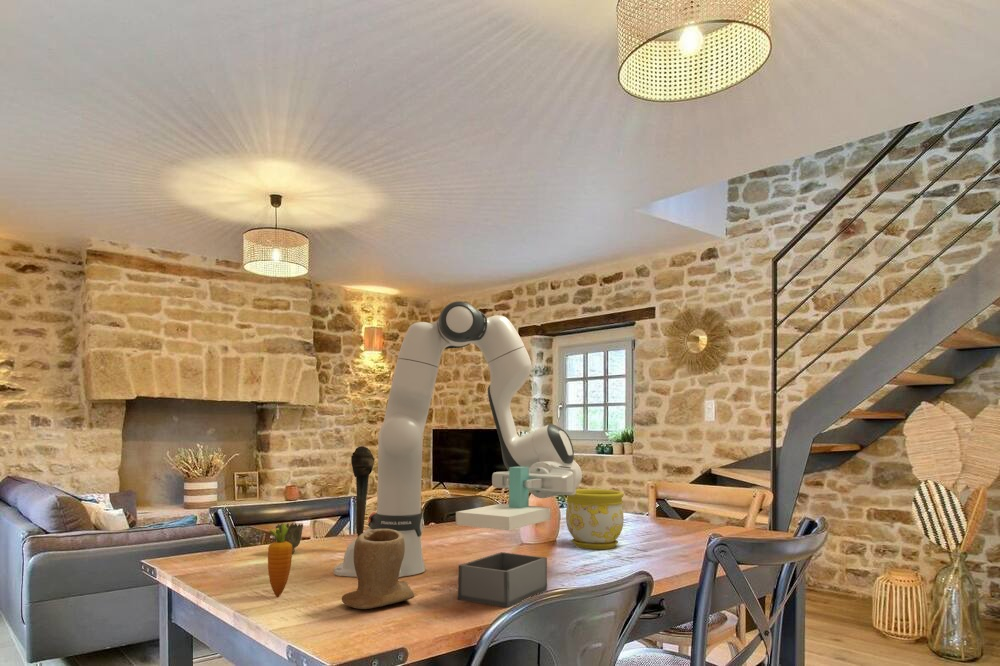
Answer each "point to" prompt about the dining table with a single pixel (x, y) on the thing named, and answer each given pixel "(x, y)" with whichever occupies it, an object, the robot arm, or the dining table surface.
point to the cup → (292, 534)
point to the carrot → (279, 560)
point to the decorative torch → (361, 481)
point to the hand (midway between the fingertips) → (517, 483)
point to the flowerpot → (595, 518)
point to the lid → (507, 508)
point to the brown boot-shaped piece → (378, 570)
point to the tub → (502, 579)
